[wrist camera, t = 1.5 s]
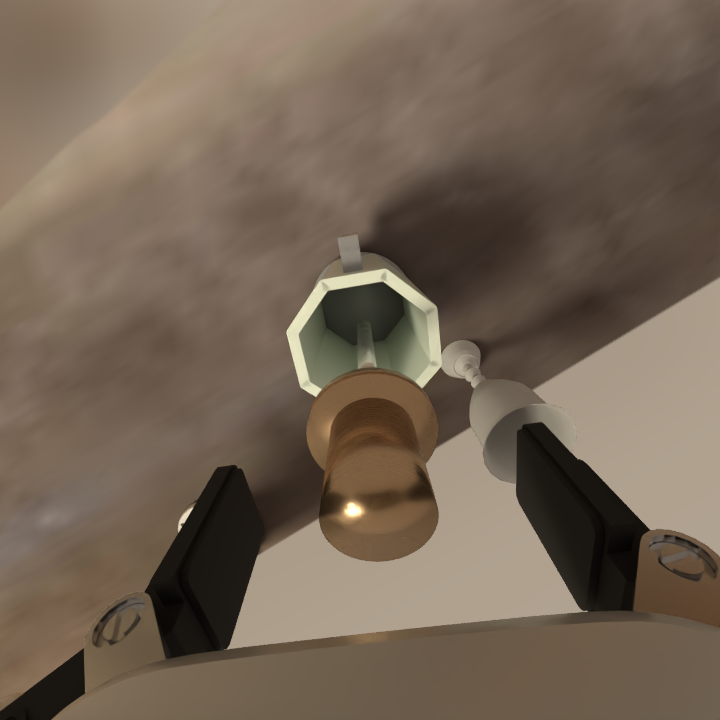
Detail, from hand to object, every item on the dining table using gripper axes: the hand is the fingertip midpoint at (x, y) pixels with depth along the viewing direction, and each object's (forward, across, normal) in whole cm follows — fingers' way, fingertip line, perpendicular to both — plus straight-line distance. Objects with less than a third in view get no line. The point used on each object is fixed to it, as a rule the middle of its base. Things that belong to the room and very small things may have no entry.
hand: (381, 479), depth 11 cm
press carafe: (+30, 0, 0) cm, 30 cm away
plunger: (+20, 0, 0) cm, 20 cm away
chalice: (+30, -11, +10) cm, 33 cm away
